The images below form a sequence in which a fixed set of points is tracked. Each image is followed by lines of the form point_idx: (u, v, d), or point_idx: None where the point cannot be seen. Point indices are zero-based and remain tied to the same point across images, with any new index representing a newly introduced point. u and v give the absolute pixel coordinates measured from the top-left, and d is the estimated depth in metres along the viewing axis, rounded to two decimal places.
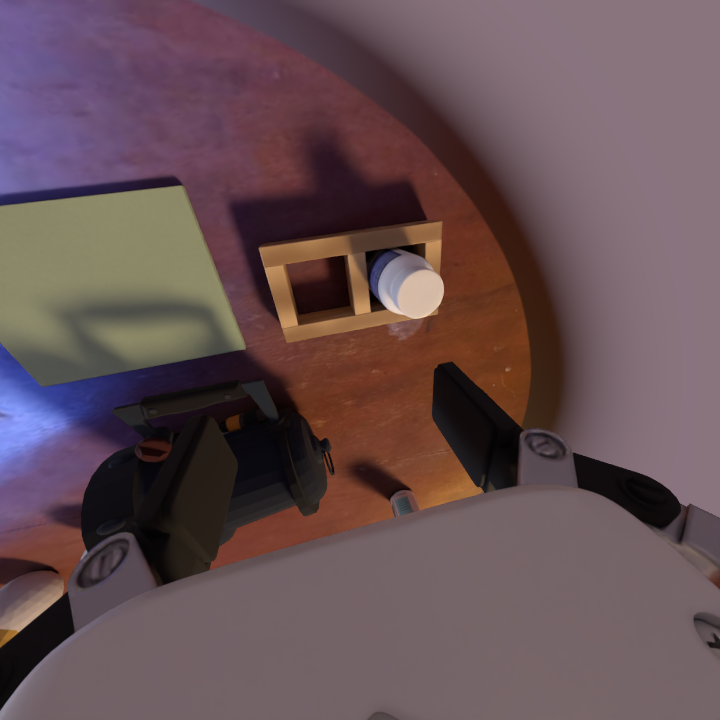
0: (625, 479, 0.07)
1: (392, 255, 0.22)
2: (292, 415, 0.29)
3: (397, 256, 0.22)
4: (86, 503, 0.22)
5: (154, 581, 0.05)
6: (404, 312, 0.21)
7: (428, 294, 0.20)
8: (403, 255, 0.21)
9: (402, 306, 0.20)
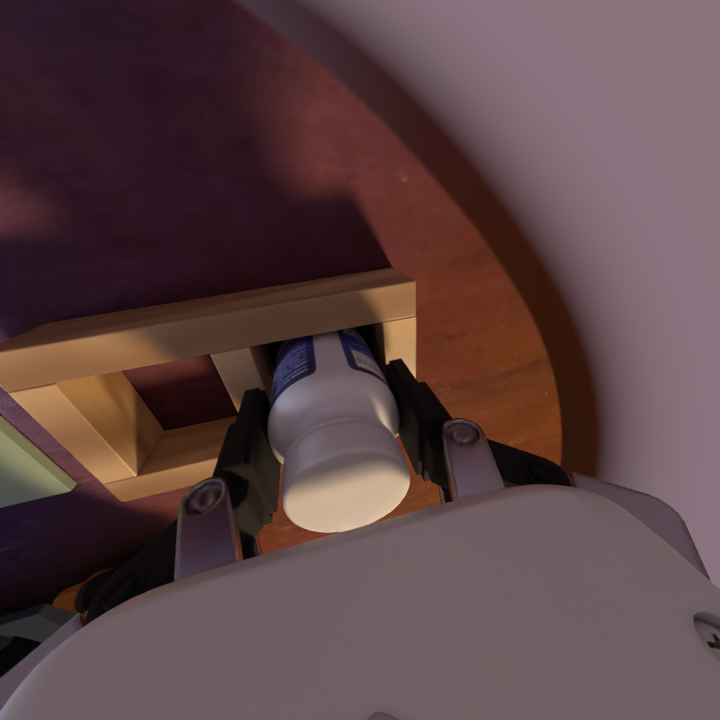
0: (531, 464, 0.07)
1: (301, 363, 0.10)
2: None
3: (305, 375, 0.09)
4: None
5: (233, 533, 0.06)
6: (312, 528, 0.08)
7: (369, 492, 0.08)
8: (317, 375, 0.09)
9: (303, 520, 0.08)
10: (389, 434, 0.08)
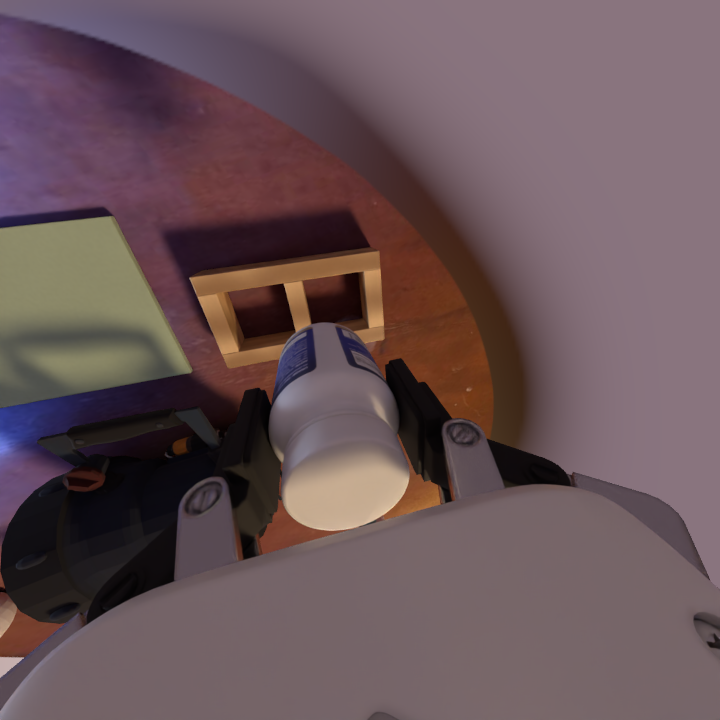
0: (531, 464, 0.07)
1: (302, 362, 0.10)
2: None
3: (305, 372, 0.09)
4: (8, 536, 0.21)
5: (233, 532, 0.06)
6: (311, 525, 0.08)
7: (369, 486, 0.08)
8: (317, 372, 0.09)
9: (302, 516, 0.08)
10: (388, 427, 0.08)
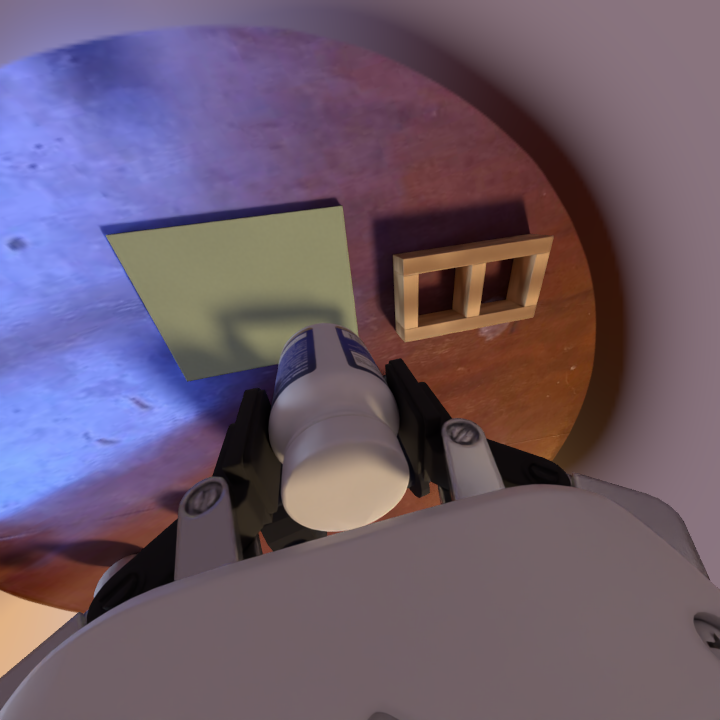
0: (531, 464, 0.07)
1: (302, 363, 0.10)
2: None
3: (305, 372, 0.09)
4: None
5: (233, 532, 0.06)
6: (311, 526, 0.08)
7: (369, 487, 0.08)
8: (317, 373, 0.09)
9: (302, 517, 0.08)
10: (388, 428, 0.08)
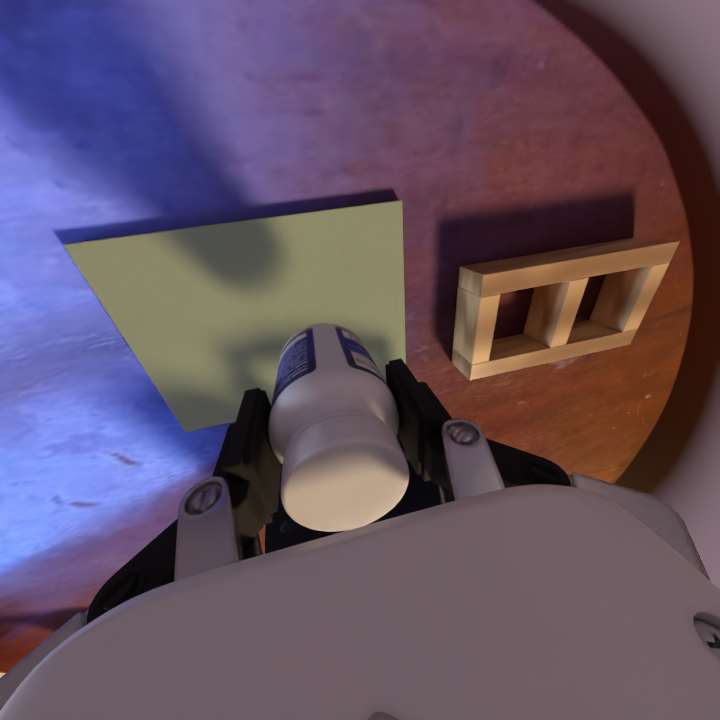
0: (531, 464, 0.07)
1: (301, 363, 0.10)
2: None
3: (305, 373, 0.09)
4: None
5: (233, 532, 0.06)
6: (311, 526, 0.08)
7: (369, 487, 0.08)
8: (317, 373, 0.09)
9: (302, 517, 0.08)
10: (388, 428, 0.08)
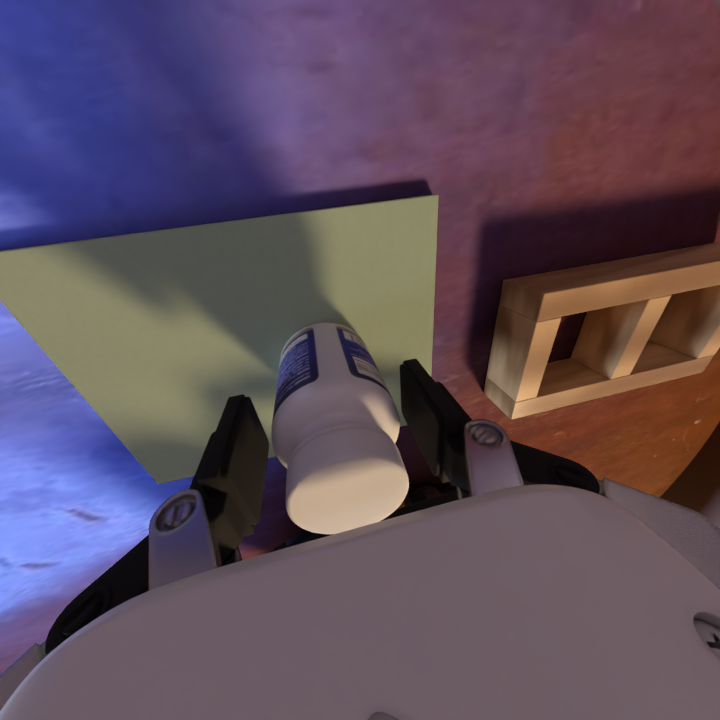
0: (556, 465, 0.07)
1: (303, 370, 0.10)
2: None
3: (308, 381, 0.10)
4: None
5: (211, 543, 0.06)
6: (314, 530, 0.09)
7: (369, 496, 0.08)
8: (319, 382, 0.09)
9: (306, 523, 0.08)
10: (389, 440, 0.08)
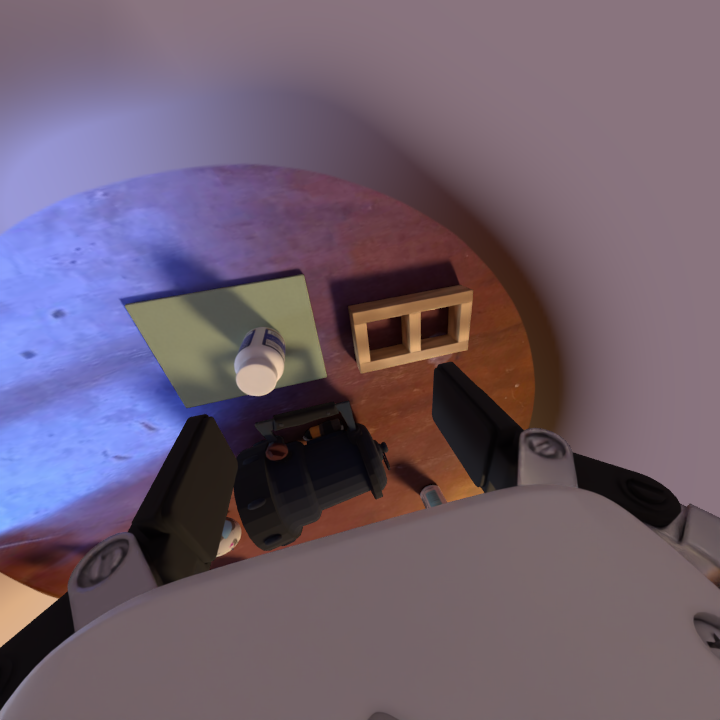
0: (625, 480, 0.07)
1: (246, 343, 0.29)
2: (360, 425, 0.39)
3: (246, 346, 0.28)
4: (236, 489, 0.32)
5: (154, 581, 0.05)
6: (246, 392, 0.27)
7: (263, 380, 0.27)
8: (249, 346, 0.28)
9: (243, 388, 0.27)
10: (269, 363, 0.27)
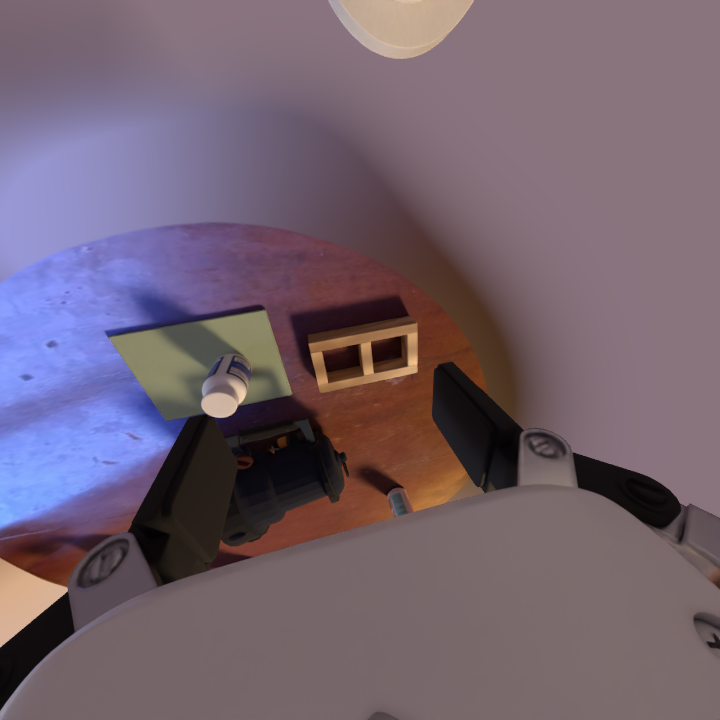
0: (625, 479, 0.07)
1: (213, 371, 0.33)
2: (321, 437, 0.44)
3: (212, 375, 0.33)
4: None
5: (154, 581, 0.05)
6: (211, 415, 0.32)
7: (224, 404, 0.31)
8: (214, 375, 0.32)
9: (208, 412, 0.31)
10: (231, 390, 0.32)
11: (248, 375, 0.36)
